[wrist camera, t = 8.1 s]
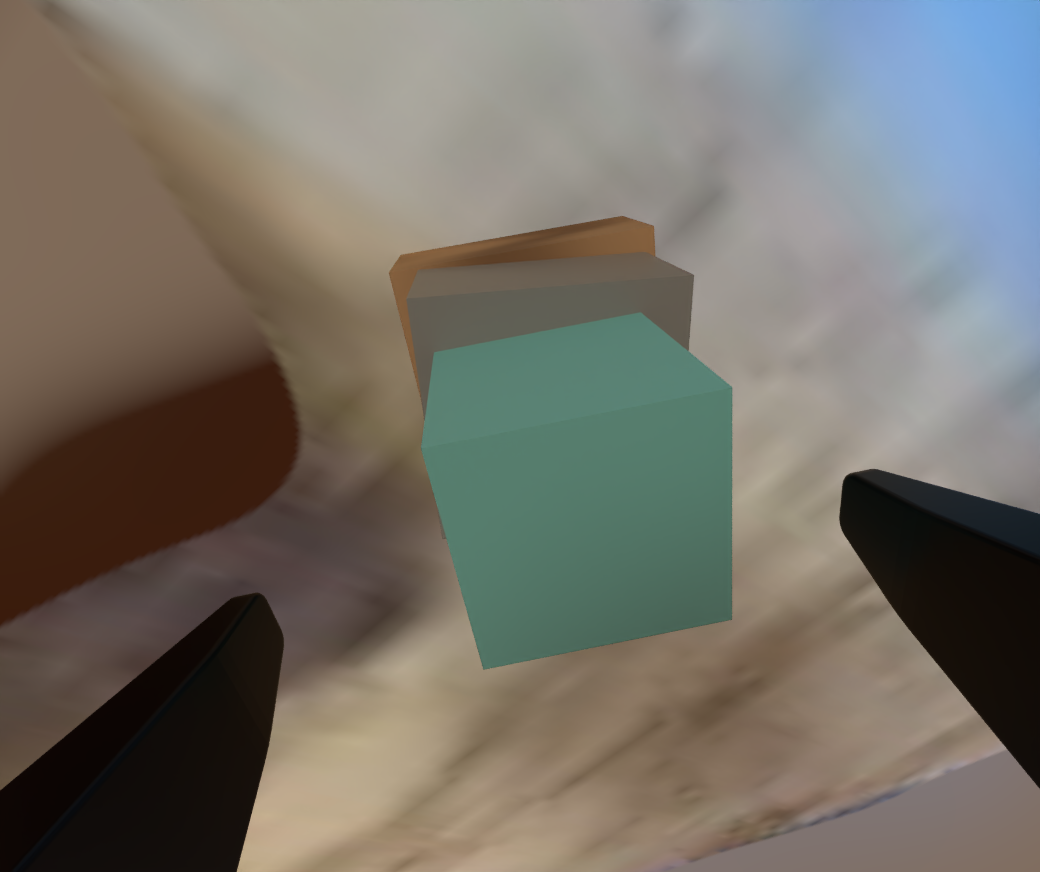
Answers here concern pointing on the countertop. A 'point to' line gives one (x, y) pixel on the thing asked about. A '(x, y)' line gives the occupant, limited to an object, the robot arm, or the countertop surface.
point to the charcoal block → (541, 301)
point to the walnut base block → (522, 254)
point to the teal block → (582, 486)
